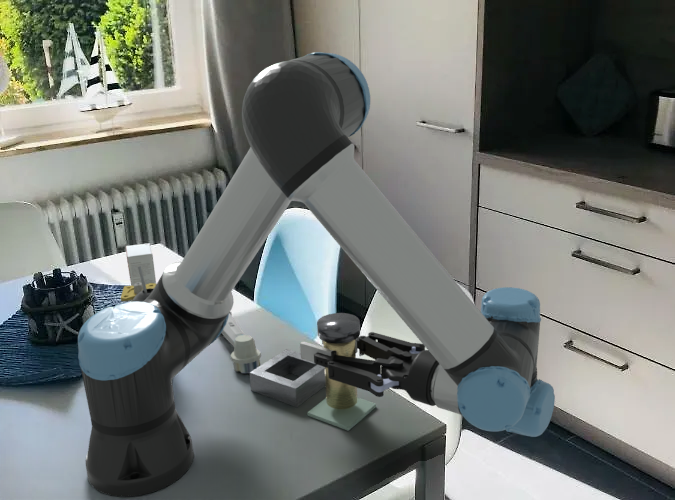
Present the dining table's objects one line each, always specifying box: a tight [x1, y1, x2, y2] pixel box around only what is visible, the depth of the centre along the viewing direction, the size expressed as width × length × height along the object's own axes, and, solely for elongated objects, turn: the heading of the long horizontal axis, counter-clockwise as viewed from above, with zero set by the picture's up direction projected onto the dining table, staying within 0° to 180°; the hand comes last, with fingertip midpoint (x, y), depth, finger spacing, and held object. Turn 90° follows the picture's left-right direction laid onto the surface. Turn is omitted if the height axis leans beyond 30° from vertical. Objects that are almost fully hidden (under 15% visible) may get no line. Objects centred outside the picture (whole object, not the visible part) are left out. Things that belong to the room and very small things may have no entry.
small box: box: [125, 242, 157, 286], centre depth 166 cm, size 8×6×10 cm
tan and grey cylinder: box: [316, 312, 361, 409], centre depth 114 cm, size 7×7×14 cm
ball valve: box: [120, 282, 157, 302], centre depth 149 cm, size 13×10×10 cm
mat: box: [306, 396, 377, 431], centre depth 117 cm, size 8×8×1 cm
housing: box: [249, 348, 326, 408], centre depth 124 cm, size 10×10×4 cm
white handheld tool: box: [221, 311, 262, 374], centre depth 139 cm, size 5×7×25 cm
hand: (312, 342), depth 116 cm, fingers closed on tan and grey cylinder, 5 cm apart
